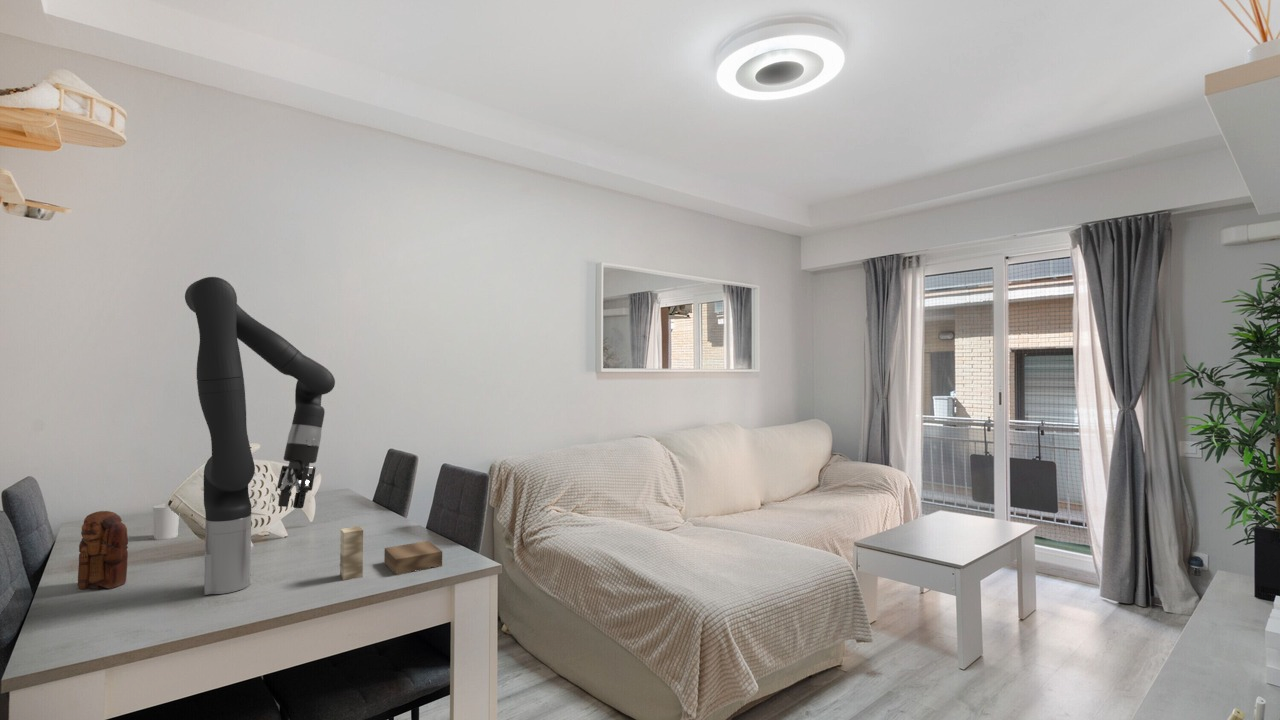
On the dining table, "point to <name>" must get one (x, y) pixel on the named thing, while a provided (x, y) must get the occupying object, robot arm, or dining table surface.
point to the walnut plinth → (412, 557)
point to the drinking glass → (165, 522)
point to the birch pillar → (351, 553)
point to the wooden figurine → (103, 551)
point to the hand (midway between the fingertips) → (290, 507)
